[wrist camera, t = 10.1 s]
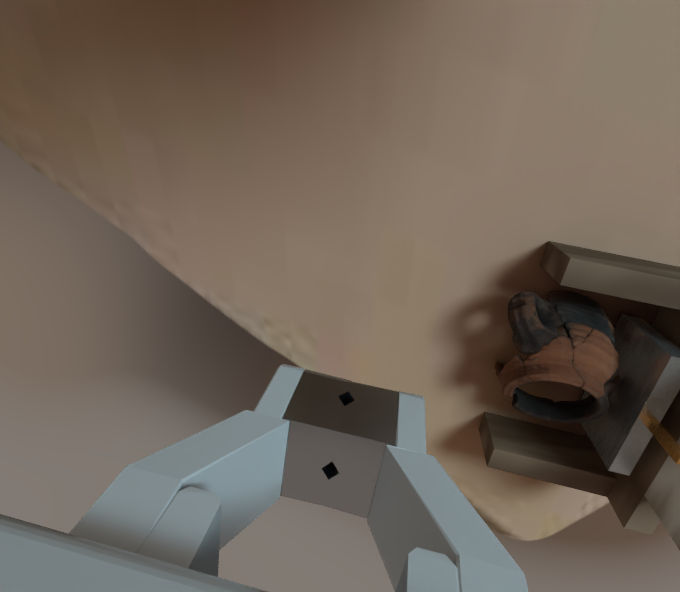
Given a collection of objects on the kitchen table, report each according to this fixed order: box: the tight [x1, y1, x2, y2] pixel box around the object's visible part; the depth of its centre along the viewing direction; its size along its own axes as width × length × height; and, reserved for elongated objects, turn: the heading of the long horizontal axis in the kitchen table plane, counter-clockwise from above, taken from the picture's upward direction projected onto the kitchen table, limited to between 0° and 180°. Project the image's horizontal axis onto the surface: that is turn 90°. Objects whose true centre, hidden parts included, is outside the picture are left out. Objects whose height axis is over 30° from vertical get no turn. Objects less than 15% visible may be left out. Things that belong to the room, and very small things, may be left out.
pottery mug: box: [495, 291, 621, 423], centre depth 33 cm, size 12×10×8 cm
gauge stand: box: [479, 241, 680, 550], centre depth 30 cm, size 19×12×13 cm, turn 170°
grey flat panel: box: [580, 314, 680, 476], centre depth 30 cm, size 10×2×11 cm, turn 170°
